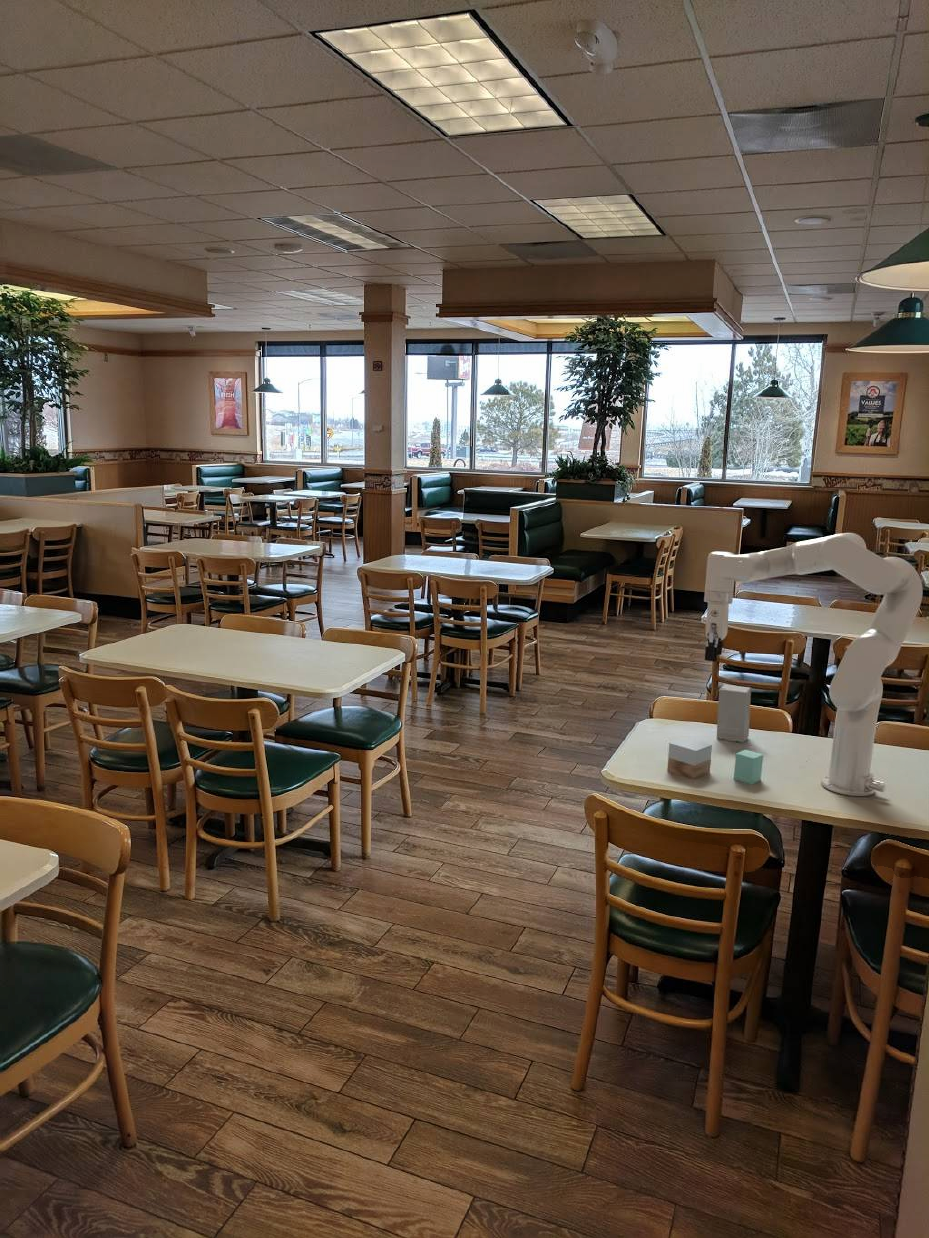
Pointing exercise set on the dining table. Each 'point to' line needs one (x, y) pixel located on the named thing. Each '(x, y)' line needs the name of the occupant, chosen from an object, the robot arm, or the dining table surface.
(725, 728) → the skincare box
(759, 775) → the block
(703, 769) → the tower base
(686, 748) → the tower top
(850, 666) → the robot arm
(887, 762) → the dining table surface
